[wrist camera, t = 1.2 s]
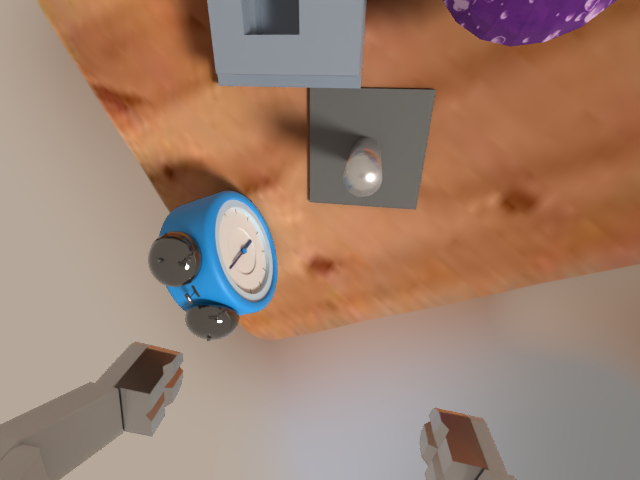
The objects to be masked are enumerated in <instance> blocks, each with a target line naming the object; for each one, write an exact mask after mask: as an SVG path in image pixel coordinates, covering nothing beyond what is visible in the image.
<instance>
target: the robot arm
mask: <svg viewBox="0 0 640 480" xmlns="http://www.w3.org/2000/svg"><path fill="white" fill-rule="evenodd" d="M182 362H183V354H182V353H180V352H176V351H172V350H168V349H164V348H160V347H156V346H152V345H148V344H144V343H139V342H134V343H132V344H131V345H129V347H128V348H127V349H126V350H125V351H124V352H123V353H122V354H121V355H120V357H119V358H118V359H117V360H116V361H115V362H114V363H113V364H112V365H111V366H110V367H109V368H108V369H107V371H106V372H105V373H104V374H103V375H102V376H101V377H100V378H99V379H98V380H97V381H96V383H92V382H89V383H87V384H85V385H83V386H81V387H79V388H77V389H74V390H72V391H70V392H68V393H66V394H64V395H62V396H60V397H58V398H56V399H53V400H52V401H49V402H47V403H45V404H43V405H41V406H39V407H37V408H34V409H32V410H30V411H28V412H26V413H24V414H22V415H20V416H18V417H15V418H13V419H11V420H9V421H7V422H5V423H3V424H1V425H0V480H59V479H61V478H62V477H64V476H65V475H66V474H68V473H69V472H70V471H72V470H73V469H75V468H76V467H77V466H79V465H80V464H81V463H83V462H84V461H86V460H87V459H88V458H90V457H91V456H92V455H94V454H95V453H96V452H98V451H99V450H101V449H102V448H103V447H105V446H106V445H107V444H109V443H110V442H112V441H113V440H114V439H116V438H117V437H118V436H120V435H121V434H122V433H123V431H126V432H132V433H137V434H142V435H148V436H153V434H154V433H155V431H156V429H157V428H158V426H159V424H160V423H161V421H162V419H163V418H164V416H165V407H166V406H167V405H169V404H171V403H172V402H173V401H174V399H175V397H176V396H177V394H178V392H179V389H180V386H181V384H182V379H183V370H182V369H181V368H180V365H181V364H182ZM429 418H430V422H428V423H426V424H424V426H423V428H422V430H421V435H420V451H421V456H422V458H423V460H424V461H425V462H426V464H427V465H428V468H427V470H426V472H425V477H426V480H516V478H515V477H514V476H512V475H508V473H507V471H506V469H505V466H504V464H503V461H502V459H501V457H500V454H499V452H498V450H497V447H496V445H495V443H494V440H493V438H492V436H491V433H490V431H489V428H488V427H487V424H486V422H485V420H484V419H482V418H479V417H475V416H470V415H465V414H462V413H457V412H452V411H447V410H442V409H438V408H434V409H432V410H431V412H430V414H429Z"/></svg>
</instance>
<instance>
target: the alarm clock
mask: <svg viewBox="0 0 640 480" xmlns="http://www.w3.org/2000/svg"><path fill="white" fill-rule="evenodd" d="M148 264H149V268H150V271H151V273H152V275H153V276H154V277H155V278H156V279H157V280H158V281H159V282H160V283H162V284H164V285H166V287H167V289H168V291H169V292H170V294H171V296H172V297H173V299H174V300H175V301H176V303H177V304H178V305H179V306H180V307H181V308H182V309H183V310H185V311H186V317H185V321H186V325H187V327H188V329H189V330H190V331H191V332H192V333H193V334H194V335H196V336H197V337H200V338H203V339H207V341H210V340H215V339H221V338H223V337H226V336H228V335H229V334H231V333H232V332H233V331H234V330H235V329H236V327H237V326H238V322H239V315H244V314H249V313H254V312H258V311H260V310H262V309H263V308H264V307H266V305H267V304H268V303H269V302H270V300H271V298H272V296H273V294H274V291H275V287H276V282H277V258H276V251H275V247H274V243H273V239H272V236H271V233H270V231H269V228H268V226H267V224H266V222H265V220H264V218H263V216H262V215H261V213H260V212H259V210H258V209H257V208H256V206H255V205H254V204H253V203H252V201H251V200H249V199H248V198H247V197H245V196H244V195H242V194H240V193H238V192H235V191H222V192H219V193H216V194H213V195H210V196H207V197H204V198H201V199H198V200H195V201H192V202H189V203H186V204H183V205H181V206H179V207H177V208H175V209H174V210H173V211H172V212H171V213H170V214H169V215H168V216H167V218H166V220H165V221H164V223H163V226H162V228H161V231H160V235H159V237H158V238H157V239H156V240H155V242H154V243H153V244H152V246H151V248H150V251H149V256H148Z"/></svg>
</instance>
